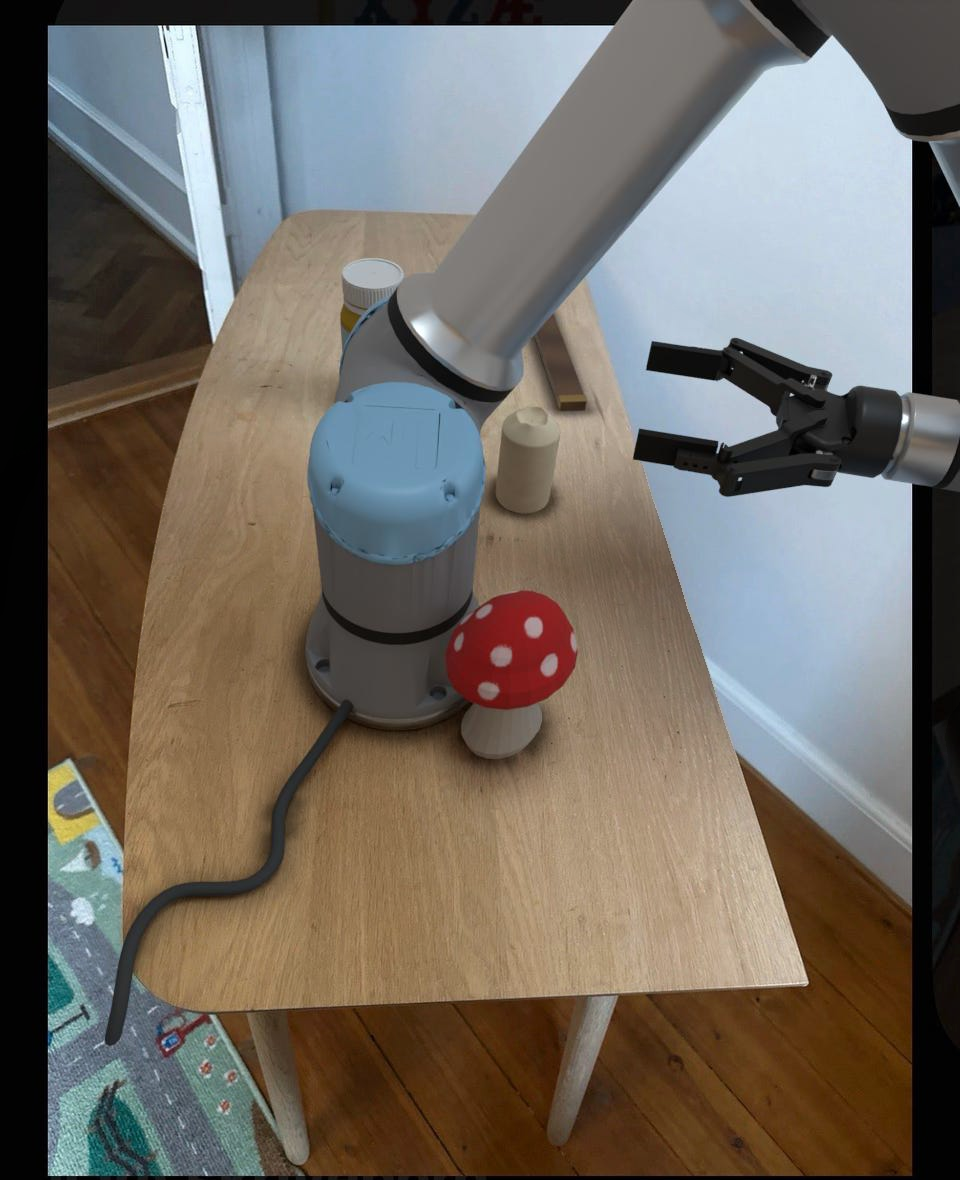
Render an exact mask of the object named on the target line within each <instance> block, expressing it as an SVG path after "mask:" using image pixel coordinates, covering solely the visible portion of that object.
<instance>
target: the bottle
mask: <svg viewBox="0 0 960 1180" xmlns="http://www.w3.org/2000/svg"><path fill="white" fill-rule="evenodd" d="M404 278H405V272H404V270H403V268H402V267H401V266H400V265H399V264H397V263H396V262H393V261H391V260H388V259H385V258H379V257H378V258H377V257H365V258H359V259H356V260H353V261H351V262H348V264H346V265H345V266H344V267H343V269H342V271H341V283H342V284H341V285H342V295H343V297H342V299H343V304H342V307H341V310H340V312H339V313H340V314H339V318H340V319H339V322H340V338H341V353H342V352H343V349H344V346H345V344H346V341H347V339H348V337H349V335H350V333H351V331H352V330H353V328H354V326H355V325H356V323H357V322H358V320H359V319H360V317H361V316H362V315H363V314H364V313H365V312H366V311H367V310H368V309H369V308H370V307H371V306H372V305H374V304H375V303H376V302H378V301H379V300H381V299H383V298H385V297H387V296H389V295H392V294H393V293H394V291H395V290H396V288H397V287H398V286H399V284H400V283H401V281H402V280H403V279H404Z"/></svg>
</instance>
